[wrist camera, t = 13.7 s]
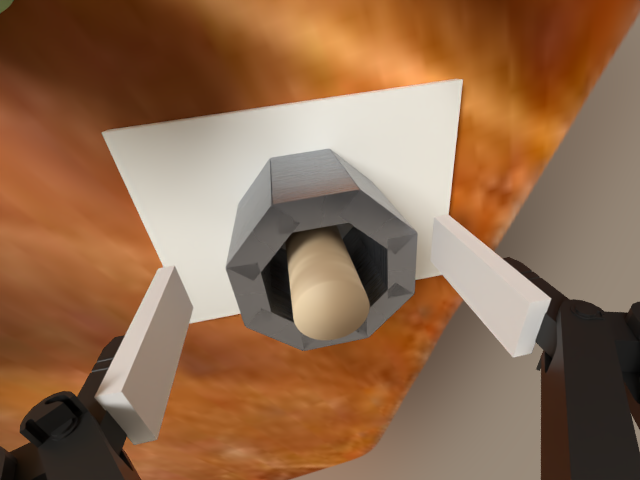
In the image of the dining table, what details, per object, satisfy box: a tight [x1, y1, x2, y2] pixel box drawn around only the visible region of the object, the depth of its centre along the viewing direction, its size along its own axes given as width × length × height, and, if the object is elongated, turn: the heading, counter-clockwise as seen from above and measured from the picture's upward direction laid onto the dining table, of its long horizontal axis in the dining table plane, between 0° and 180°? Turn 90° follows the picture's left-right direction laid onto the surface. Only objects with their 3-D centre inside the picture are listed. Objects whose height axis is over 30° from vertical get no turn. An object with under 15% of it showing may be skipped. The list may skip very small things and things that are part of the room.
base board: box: [102, 79, 463, 323], centre depth 21 cm, size 20×14×1 cm
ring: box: [226, 149, 418, 351], centre depth 17 cm, size 9×9×7 cm
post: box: [285, 225, 370, 340], centre depth 17 cm, size 3×3×9 cm
